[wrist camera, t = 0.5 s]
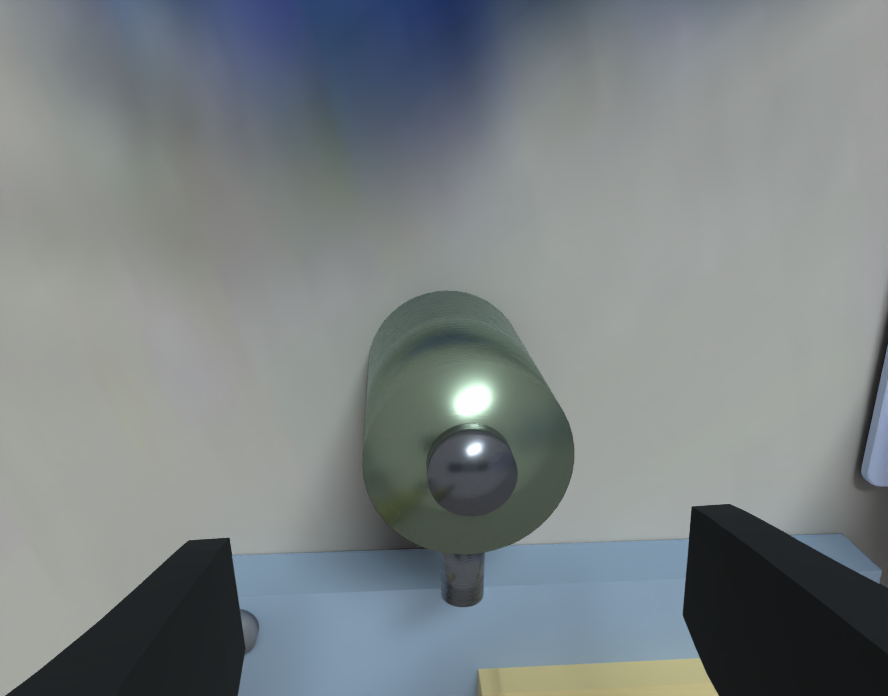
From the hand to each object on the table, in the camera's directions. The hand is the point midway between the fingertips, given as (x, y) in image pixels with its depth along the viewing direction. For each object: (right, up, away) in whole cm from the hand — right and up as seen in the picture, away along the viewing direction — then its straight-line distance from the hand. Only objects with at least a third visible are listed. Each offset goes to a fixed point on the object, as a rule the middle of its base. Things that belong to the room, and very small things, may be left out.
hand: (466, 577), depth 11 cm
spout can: (0, +3, +9) cm, 10 cm away
